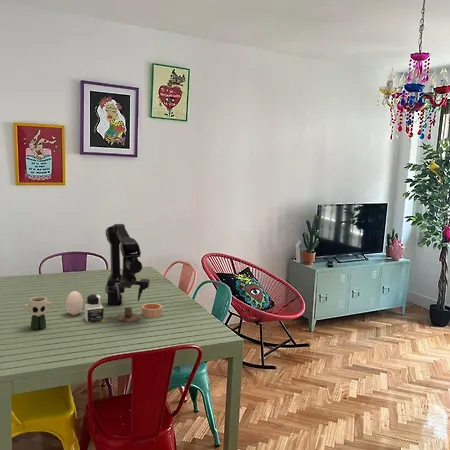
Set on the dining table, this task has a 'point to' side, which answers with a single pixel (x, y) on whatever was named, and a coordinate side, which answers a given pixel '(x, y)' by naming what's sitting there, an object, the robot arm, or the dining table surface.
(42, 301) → the character mug
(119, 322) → the mat
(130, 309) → the lid
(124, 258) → the robot arm
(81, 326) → the dining table surface
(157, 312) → the bowl
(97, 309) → the white boxy piece
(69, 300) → the egg
